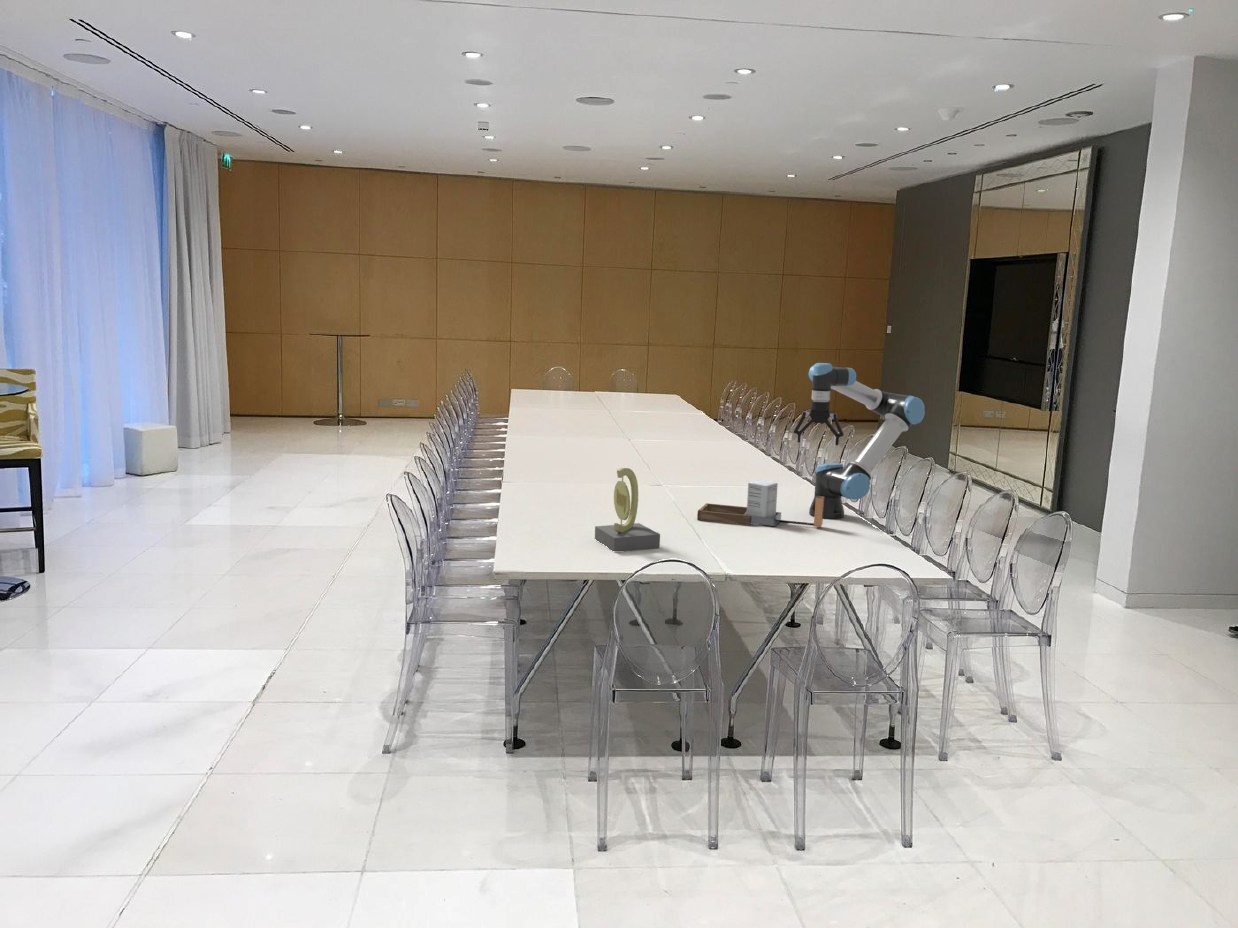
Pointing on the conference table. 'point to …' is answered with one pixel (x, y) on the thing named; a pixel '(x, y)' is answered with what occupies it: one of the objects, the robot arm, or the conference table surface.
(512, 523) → the conference table surface
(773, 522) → the pusher tool
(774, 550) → the conference table surface
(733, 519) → the tray
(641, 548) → the trophy
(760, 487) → the supplement box
